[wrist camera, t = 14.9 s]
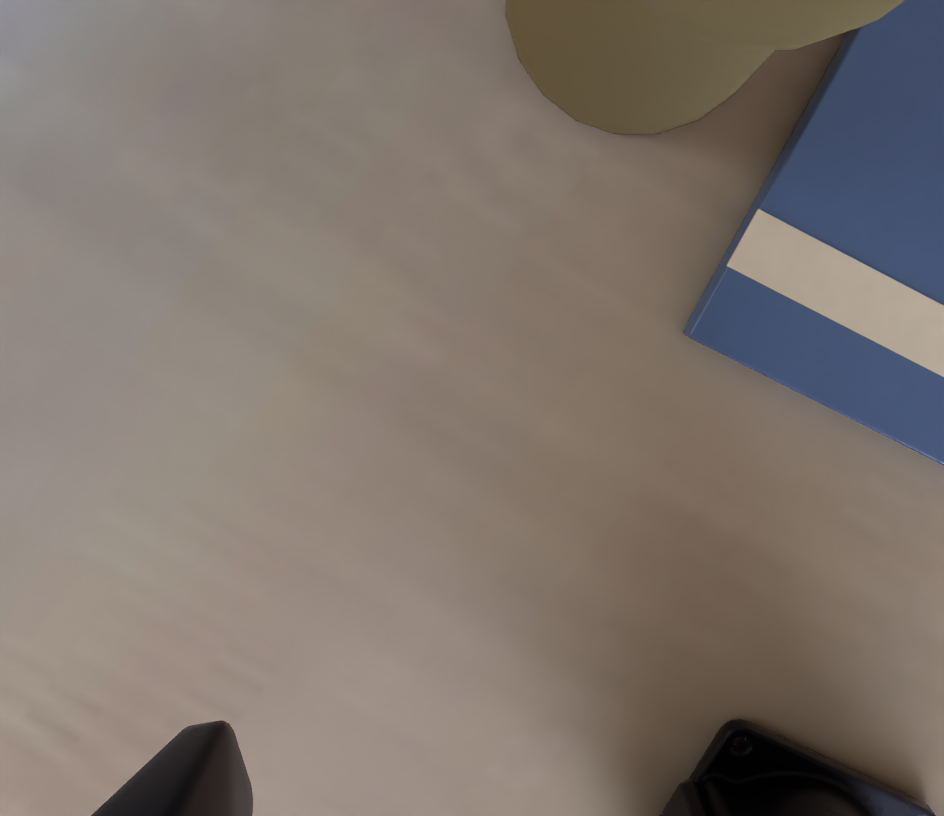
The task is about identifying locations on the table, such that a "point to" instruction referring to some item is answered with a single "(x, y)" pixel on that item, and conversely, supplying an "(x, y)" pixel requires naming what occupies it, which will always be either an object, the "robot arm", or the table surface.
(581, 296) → the table surface
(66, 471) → the table surface
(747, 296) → the towel
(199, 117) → the table surface
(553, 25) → the olive game pawn
